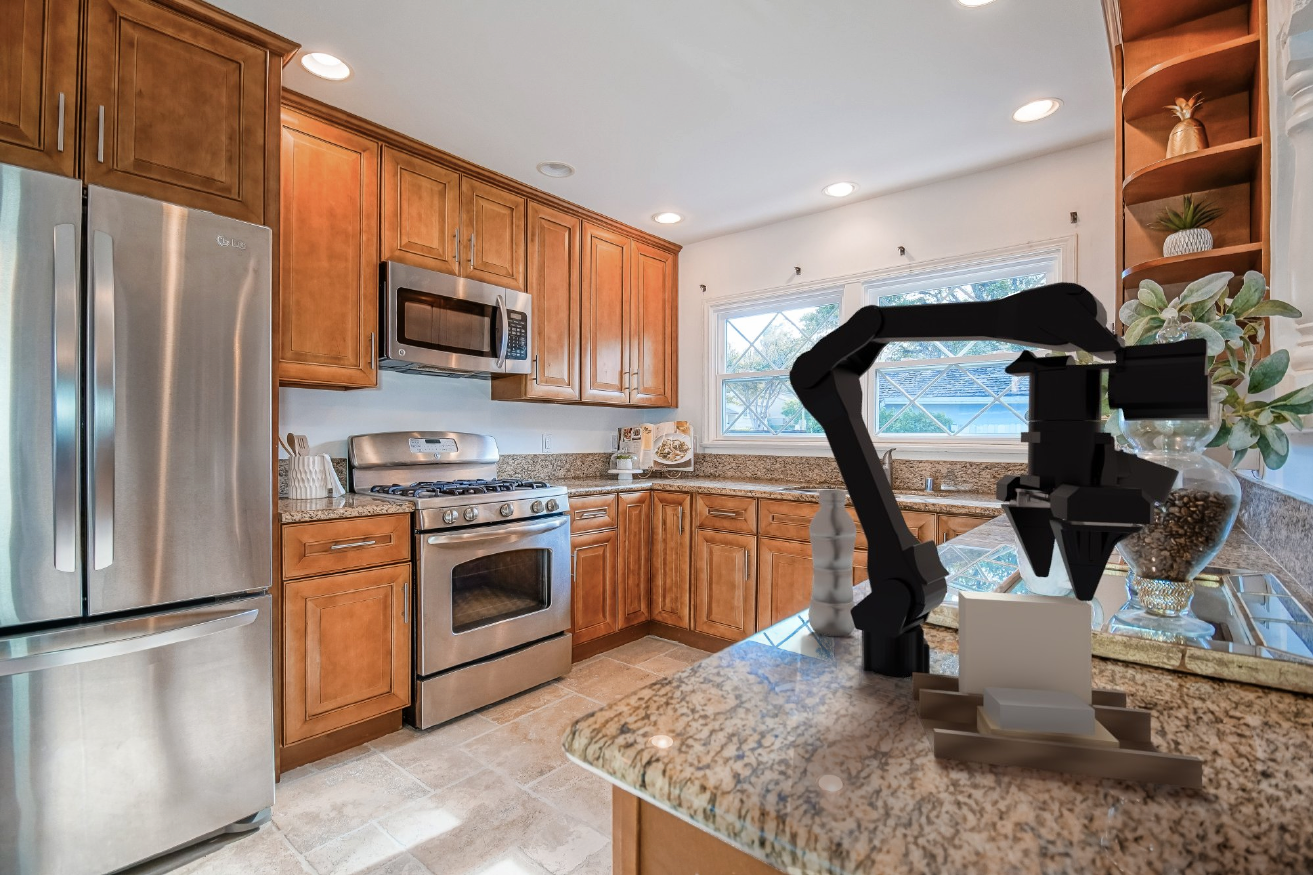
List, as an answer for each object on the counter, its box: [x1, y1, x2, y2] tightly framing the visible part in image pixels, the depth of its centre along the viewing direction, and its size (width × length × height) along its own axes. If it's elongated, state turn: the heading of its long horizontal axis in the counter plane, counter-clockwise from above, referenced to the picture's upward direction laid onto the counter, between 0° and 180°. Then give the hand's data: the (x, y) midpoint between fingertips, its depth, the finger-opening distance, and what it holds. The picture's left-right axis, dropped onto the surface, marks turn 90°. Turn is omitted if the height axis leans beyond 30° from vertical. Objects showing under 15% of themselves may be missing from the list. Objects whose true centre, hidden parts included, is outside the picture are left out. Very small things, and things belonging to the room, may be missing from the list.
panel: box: [957, 590, 1093, 705], centre depth 56 cm, size 10×3×11 cm, turn 76°
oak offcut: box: [977, 706, 1119, 748], centre depth 51 cm, size 9×4×2 cm, turn 76°
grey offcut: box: [984, 687, 1095, 735], centre depth 51 cm, size 7×4×2 cm, turn 82°
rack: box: [909, 672, 1203, 790], centre depth 54 cm, size 18×14×4 cm
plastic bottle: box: [807, 489, 857, 637], centre depth 86 cm, size 6×7×20 cm
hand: (1061, 587), depth 58 cm, fingers open, 9 cm apart
